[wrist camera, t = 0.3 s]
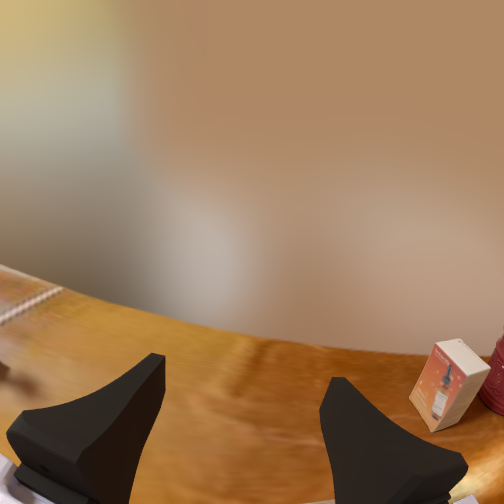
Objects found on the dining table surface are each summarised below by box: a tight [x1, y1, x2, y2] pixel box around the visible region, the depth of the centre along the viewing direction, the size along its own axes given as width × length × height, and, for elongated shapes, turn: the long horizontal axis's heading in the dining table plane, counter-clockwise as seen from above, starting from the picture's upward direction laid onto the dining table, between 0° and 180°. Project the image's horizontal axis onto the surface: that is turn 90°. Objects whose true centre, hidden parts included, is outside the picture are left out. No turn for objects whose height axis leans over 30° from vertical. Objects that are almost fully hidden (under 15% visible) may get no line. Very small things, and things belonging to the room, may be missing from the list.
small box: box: [409, 339, 491, 433], centre depth 30 cm, size 8×6×10 cm
